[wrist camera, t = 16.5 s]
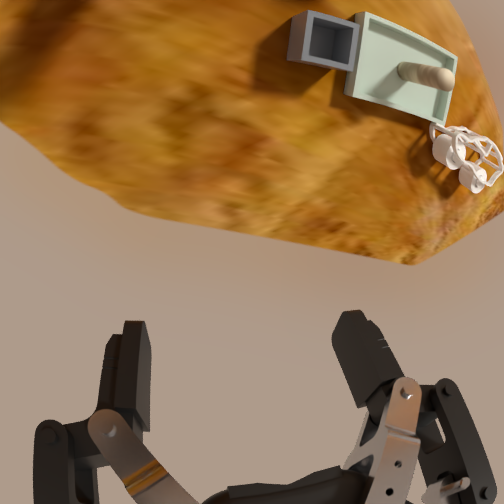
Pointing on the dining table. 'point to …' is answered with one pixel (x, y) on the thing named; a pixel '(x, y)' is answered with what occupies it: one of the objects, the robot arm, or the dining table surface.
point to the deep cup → (323, 41)
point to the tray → (385, 68)
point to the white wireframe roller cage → (454, 155)
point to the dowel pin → (426, 75)
